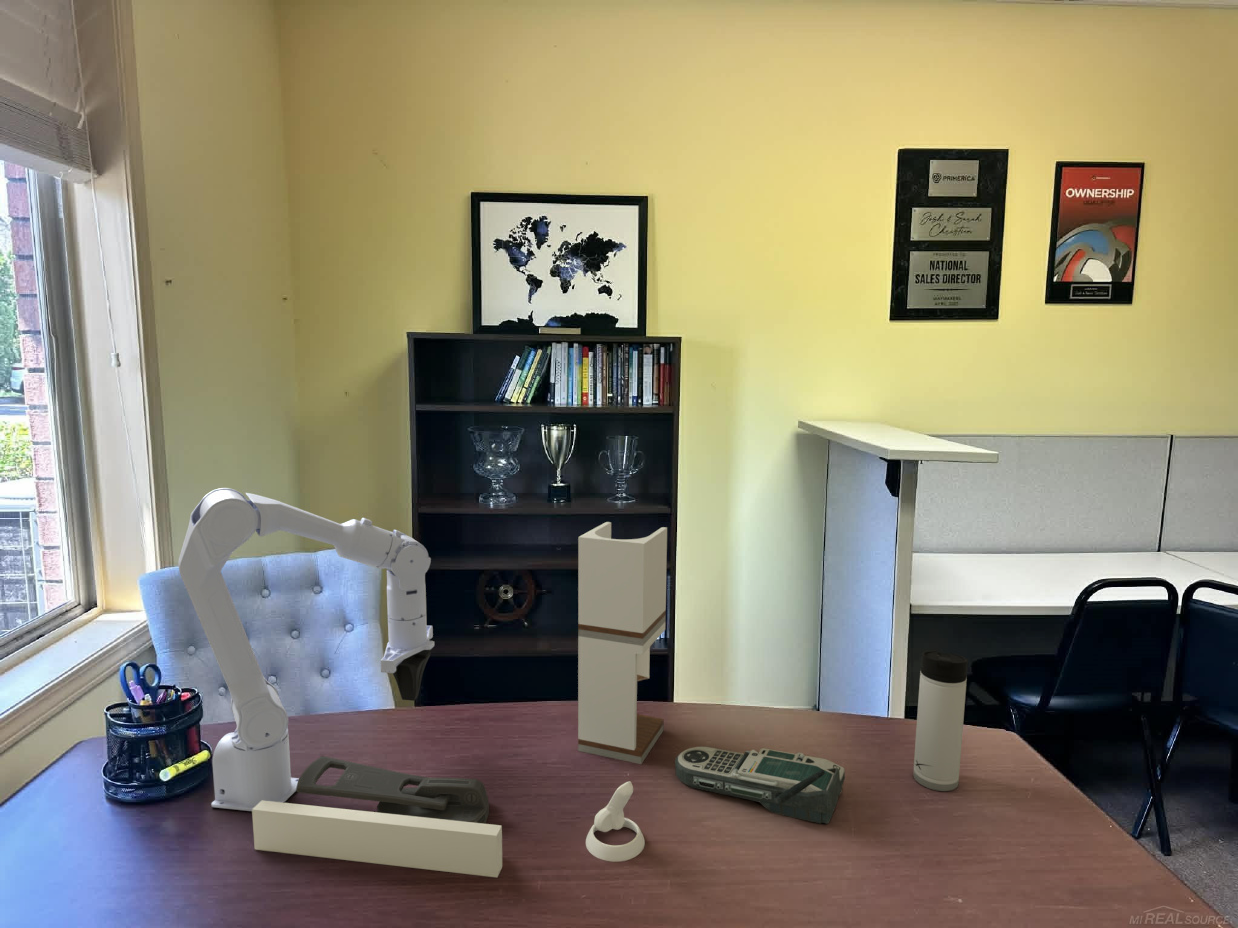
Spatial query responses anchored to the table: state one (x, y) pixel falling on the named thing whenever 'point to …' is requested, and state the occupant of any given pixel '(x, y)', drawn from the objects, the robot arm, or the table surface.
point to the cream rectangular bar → (378, 838)
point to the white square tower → (618, 639)
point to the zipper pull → (401, 791)
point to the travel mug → (940, 720)
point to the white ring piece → (615, 820)
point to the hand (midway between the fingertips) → (409, 698)
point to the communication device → (766, 779)
